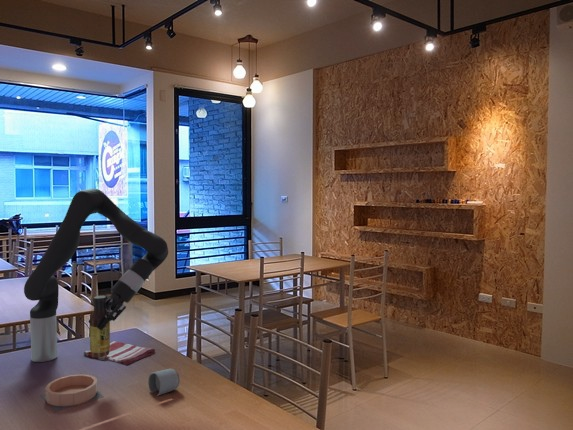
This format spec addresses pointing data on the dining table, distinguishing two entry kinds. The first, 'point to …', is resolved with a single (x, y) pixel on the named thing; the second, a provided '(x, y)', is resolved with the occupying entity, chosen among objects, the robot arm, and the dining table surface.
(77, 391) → the bowl
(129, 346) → the dish towel
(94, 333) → the sauce bottle
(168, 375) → the ceramic mug
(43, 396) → the mat
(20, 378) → the dining table surface
